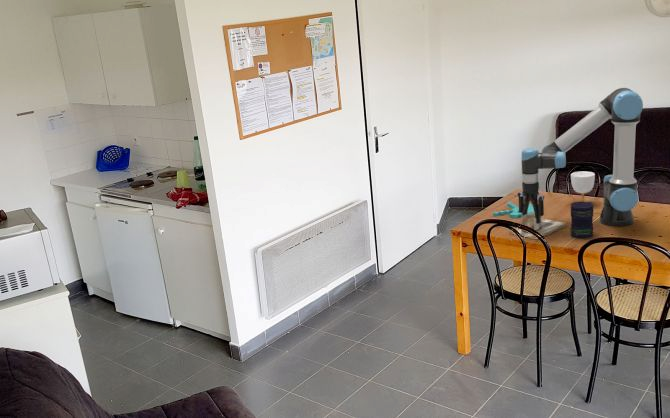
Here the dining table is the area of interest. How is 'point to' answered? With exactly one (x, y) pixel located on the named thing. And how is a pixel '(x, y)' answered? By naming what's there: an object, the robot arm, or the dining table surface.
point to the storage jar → (582, 220)
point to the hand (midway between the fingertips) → (531, 228)
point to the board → (543, 228)
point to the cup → (582, 182)
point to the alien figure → (514, 211)
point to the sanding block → (529, 221)
